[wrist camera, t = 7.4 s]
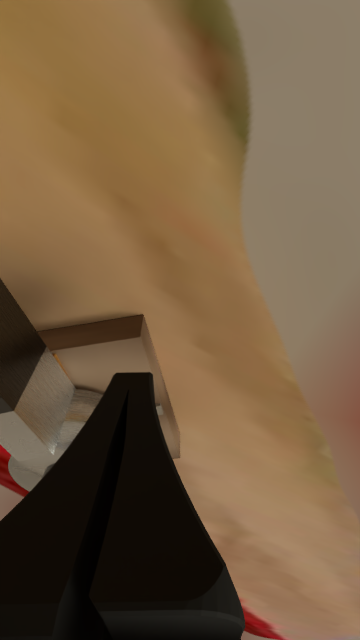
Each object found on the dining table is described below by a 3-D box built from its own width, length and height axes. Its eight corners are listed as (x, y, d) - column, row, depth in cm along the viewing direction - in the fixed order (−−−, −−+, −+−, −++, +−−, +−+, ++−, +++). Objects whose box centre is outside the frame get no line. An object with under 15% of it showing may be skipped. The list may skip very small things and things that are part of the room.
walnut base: (179, 433, 24) (180, 460, 22) (54, 448, 25) (44, 476, 23) (143, 314, 18) (140, 339, 16) (-23, 341, 19) (-44, 368, 17)
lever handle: (145, 441, 21) (139, 512, 17) (62, 456, 22) (40, 527, 18) (43, 265, 13) (-3, 326, 10) (-77, 299, 14) (-159, 366, 11)
